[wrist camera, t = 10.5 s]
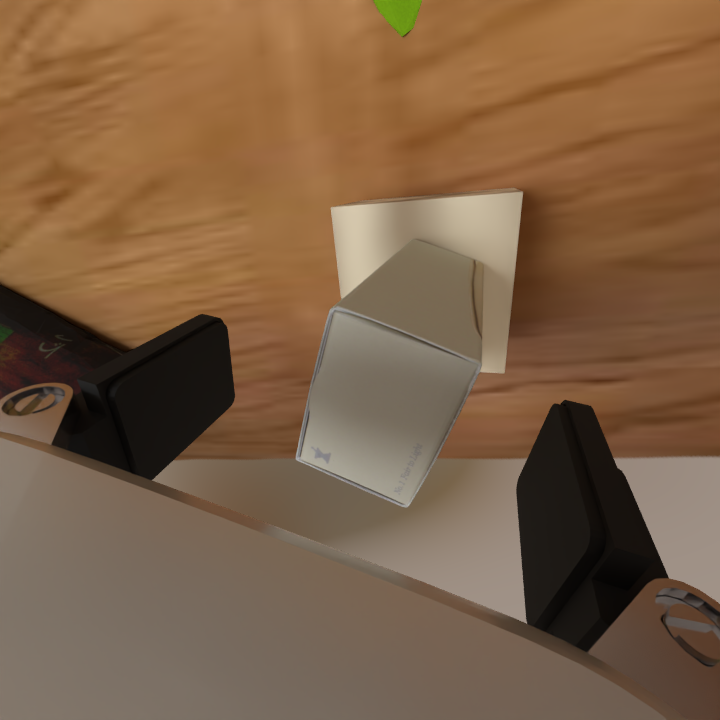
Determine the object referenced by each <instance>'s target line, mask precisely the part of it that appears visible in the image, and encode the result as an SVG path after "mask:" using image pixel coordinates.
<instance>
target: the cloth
mask: <svg viewBox="0 0 720 720" xmlns="http://www.w3.org/2000/svg"><path fill="white" fill-rule="evenodd" d="M373 1H374V3H375V4H376V6H377V8H378V10H379V12H380V13H381V14H382V15H383V16H384V18H385V19H386V20H387V21H388V23H389V24H390V25H391V26H392V27H393V28H394V29H395V30H396V31H397V32H398V33H399V34H400V35H401V36H402V37H403V36H404V35H405V34H406V33H408V32H409V31H410V30H411V29H413V27H414V24H415V21H416V18H417V15H418V12H419V9H420V5H421V2H422V0H373Z"/></svg>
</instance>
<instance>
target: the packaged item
mask: <svg viewBox="0 0 720 720" xmlns="http://www.w3.org/2000/svg"><path fill="white" fill-rule="evenodd" d="M125 353H126V352H123V351H121V350H119V349H116V348H114V347H112V346H110V345H108V344H106V343H104V342H102V341H100V340H99V339H97V338H96V337H95V336H94V335H92V334H91V333H89V332H87V331H85V330H82V329H79V328H77V327H75V326H73V325H71V324H70V323H68V322H66V321H65V320H63V319H61V318H60V317H58V316H56V315H55V314H53V313H51V312H49V311H47V310H46V309H44V308H42V307H40V306H38V305H36V304H34V303H32V302H31V301H29V300H27V299H25V298H23V297H21V296H19V295H17V294H15V293H13V292H12V291H10V290H8V289H6V288H4V287H3V286H1V285H0V399H2V398H4V397H5V396H7V395H8V394H10V393H12V392H15V391H17V390H19V389H22V388H25V387H29V386H32V385H37V384H43V383H62V384H66V385H68V386H70V387H71V388H72V390H73V391H74V394H75V395H76V394H78V393H80V392H81V389H80V386H79V384H78V381H77V378H79V377H81V376H83V375H85V374H87V373H89V372H91V371H93V370H95V369H97V368H98V367H100V366H102V365H104V364H106V363H108V362H110V361H112V360H114V359H116V358H118V357H119V356H121V355H123V354H125Z"/></svg>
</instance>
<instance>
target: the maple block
mask: <svg viewBox="0 0 720 720" xmlns="http://www.w3.org/2000/svg"><path fill="white" fill-rule="evenodd" d="M522 198H523V191H520V190H518V189H516V188H504V189H493V190H481V191H469V192H457V193H446V194H434V195H422V196H410V197H399V198H387V199H375V200H363V201H357V202H352V203H348V204H344V205H339V206H335V207H331V214H332V223H333V231H334V240H335V249H336V257H337V266H338V275H339V284H340V292H341V300H342V299H343V298H344V297H345V296H346V295H347V294H349V293H350V292H351V291H352V290H353V289H355V288H356V287H357V286H358V285H359V284H360V283H362V282H363V281H364V280H365V279H366V278H367V277H369V276H370V275H371V274H372V273H373V272H374V271H375V270H377V269H378V268H379V267H380V266H381V265H383V264H384V263H385V262H386V261H387V260H388V259H390V258H391V257H392V256H393V255H394V254H395V253H397V252H398V251H399V250H400V249H401V248H402V247H404V246H405V245H406V244H407V243H408V242H409V241H410V240H412V239H416V240H419V241H422V242H425V243H428V244H431V245H434V246H437V247H440V248H443V249H445V250H448V251H451V252H454V253H457V254H460V255H462V256H465V257H468V258H470V259H473V260H476V261H478V262H481V263H483V265H484V287H483V329H482V367H481V370H480V372H489V373H505V364H506V354H507V344H508V334H509V325H510V315H511V305H512V295H513V286H514V276H515V266H516V256H517V247H518V237H519V227H520V217H521V208H522Z"/></svg>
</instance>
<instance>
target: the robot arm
mask: <svg viewBox="0 0 720 720" xmlns="http://www.w3.org/2000/svg"><path fill="white" fill-rule="evenodd" d="M77 381H78V384H79V386H80V389H81V392H80V393H78V394H76V395H75V394H74V391H73V390H72V388H71V387H70V386H68V385H66V384H62V383H43V384H37V385H32V386H29V387H25V388H22V389H19V390H17V391H15V392H12V393H10V394H8V395H7V396H5V397H4V398H2V399H0V720H720V604H719V603H718V602H716V601H715V600H714V599H712V598H710V597H709V596H708V595H706V594H705V593H703V592H702V591H700V590H698V589H696V588H694V587H692V586H690V585H688V584H686V583H684V582H681V581H677V580H673V579H669V578H668V575H667V573H666V570H665V568H664V566H663V563H662V561H661V559H660V556H659V554H658V552H657V549H656V547H655V545H654V542H653V540H652V538H651V535H650V533H649V531H648V528H647V526H646V524H645V521H644V519H643V517H642V514H641V512H640V510H639V507H638V505H637V503H636V501H635V498H634V496H633V493H632V491H631V489H630V486H629V484H628V482H627V479H626V477H625V475H624V474H623V473H622V471H621V470H620V469H618V468H617V466H616V464H615V461H614V459H613V456H612V454H611V451H610V449H609V447H608V444H607V442H606V439H605V437H604V434H603V432H602V430H601V427H600V425H599V422H598V420H597V418H596V415H595V413H594V410H593V408H592V407H591V406H589V405H584V404H580V403H576V402H572V401H568V400H564V401H563V402H562V403H561V404H560V405H559V404H553V405H552V407H551V409H550V411H549V413H548V415H547V417H546V420H545V422H544V424H543V426H542V428H541V430H540V433H539V435H538V437H537V439H536V441H535V444H534V446H533V448H532V450H531V452H530V454H529V457H528V459H527V461H526V463H525V465H524V467H523V470H522V472H521V474H520V476H519V479H518V482H517V489H516V490H517V505H518V518H519V531H520V543H521V557H522V570H523V583H524V596H525V608H526V619H527V624H526V623H524V622H521V621H519V620H517V619H514V618H512V617H510V616H507V615H505V614H502V613H500V612H497V611H494V610H492V609H489V608H487V607H485V606H482V605H480V604H477V603H474V602H472V601H469V600H467V599H464V598H462V597H459V596H457V595H454V594H452V593H449V592H447V591H444V590H442V589H439V588H436V587H434V586H432V585H429V584H427V583H424V582H421V581H419V580H416V579H413V578H411V577H408V576H405V575H403V574H400V573H398V572H395V571H392V570H389V569H387V568H384V567H382V566H379V565H377V564H373V563H371V562H369V561H366V560H363V559H360V558H358V557H355V556H353V555H350V554H347V553H345V552H342V551H339V550H337V549H334V548H331V547H329V546H326V545H324V544H321V543H318V542H316V541H313V540H311V539H308V538H305V537H302V536H300V535H297V534H294V533H292V532H289V531H286V530H284V529H281V528H278V527H276V526H273V525H270V524H267V523H265V522H262V521H260V520H257V519H254V518H251V517H249V516H246V515H244V514H241V513H238V512H236V511H233V510H230V509H227V508H225V507H222V506H219V505H217V504H214V503H211V502H209V501H206V500H203V499H200V498H198V497H195V496H192V495H189V494H187V493H184V492H182V491H178V490H176V489H173V488H171V487H168V486H165V485H163V484H160V483H157V482H154V481H152V479H154V478H155V477H156V476H157V475H158V474H159V473H160V472H161V471H162V470H163V469H164V468H165V467H166V466H167V465H169V464H170V463H171V462H172V461H173V460H174V459H175V458H176V457H177V456H178V455H179V454H180V453H181V452H182V451H184V450H185V449H186V448H187V447H188V446H189V445H190V444H191V443H192V442H193V441H194V440H195V439H196V438H197V437H198V436H200V435H201V434H202V433H203V432H204V431H205V430H206V429H207V428H208V427H209V426H210V425H211V424H212V423H213V422H215V421H216V420H217V419H218V418H219V417H220V416H221V415H222V414H223V413H224V412H225V411H226V410H227V409H228V408H229V407H230V406H231V405H232V404H233V402H234V398H235V392H234V383H233V374H232V365H231V356H230V347H229V338H228V329H227V326H226V325H225V324H224V323H223V321H222V319H220V318H217V317H213V316H209V315H204V314H201V315H198V316H196V317H194V318H192V319H190V320H188V321H187V322H185V323H183V324H181V325H179V326H177V327H175V328H173V329H171V330H169V331H167V332H165V333H164V334H162V335H160V336H158V337H156V338H154V339H152V340H150V341H148V342H146V343H144V344H142V345H141V346H139V347H137V348H135V349H133V350H131V351H129V352H127V353H125V354H123V355H121V356H119V357H118V358H116V359H114V360H112V361H110V362H108V363H106V364H104V365H102V366H100V367H98V368H97V369H95V370H93V371H91V372H89V373H87V374H85V375H83V376H81V377H79V378H77Z"/></svg>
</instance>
